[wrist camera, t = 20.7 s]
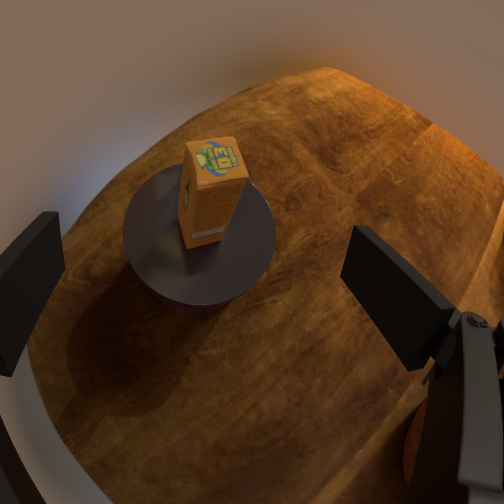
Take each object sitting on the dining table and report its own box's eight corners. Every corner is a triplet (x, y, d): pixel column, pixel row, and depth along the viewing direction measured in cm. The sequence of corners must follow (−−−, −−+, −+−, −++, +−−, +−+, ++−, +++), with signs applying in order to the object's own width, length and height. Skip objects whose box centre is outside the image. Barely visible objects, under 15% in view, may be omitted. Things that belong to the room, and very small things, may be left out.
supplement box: (226, 241, 27) (252, 179, 17) (186, 251, 26) (191, 191, 16) (215, 205, 28) (235, 132, 18) (176, 214, 27) (177, 141, 17)
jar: (171, 340, 33) (167, 335, 23) (119, 238, 35) (100, 197, 26) (272, 284, 37) (303, 258, 28) (216, 192, 39) (229, 143, 30)
